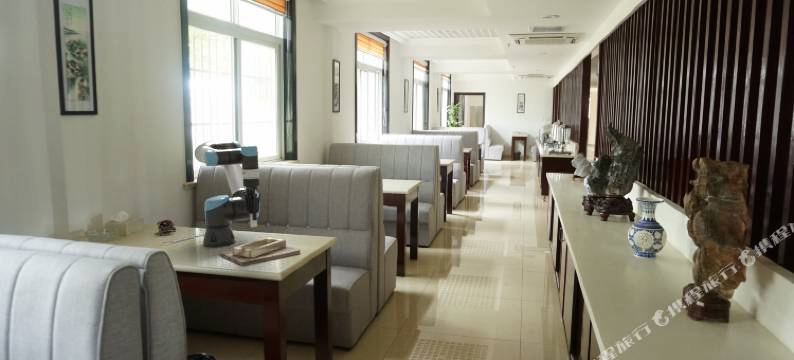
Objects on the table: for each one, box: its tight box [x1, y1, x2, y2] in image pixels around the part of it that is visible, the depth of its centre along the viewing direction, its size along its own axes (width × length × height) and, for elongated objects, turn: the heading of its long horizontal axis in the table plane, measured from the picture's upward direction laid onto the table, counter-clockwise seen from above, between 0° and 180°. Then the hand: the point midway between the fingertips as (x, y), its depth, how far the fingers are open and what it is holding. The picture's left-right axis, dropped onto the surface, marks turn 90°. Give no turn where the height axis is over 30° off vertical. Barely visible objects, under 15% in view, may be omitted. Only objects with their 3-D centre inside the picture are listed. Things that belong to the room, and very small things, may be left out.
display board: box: [218, 244, 301, 267], centre depth 251 cm, size 24×28×2 cm
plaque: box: [164, 232, 205, 245], centre depth 286 cm, size 33×10×1 cm, turn 148°
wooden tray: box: [231, 236, 287, 258], centre depth 251 cm, size 12×22×3 cm, turn 151°
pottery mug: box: [157, 219, 177, 235], centre depth 299 cm, size 12×10×8 cm
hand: (253, 226), depth 264 cm, fingers closed
